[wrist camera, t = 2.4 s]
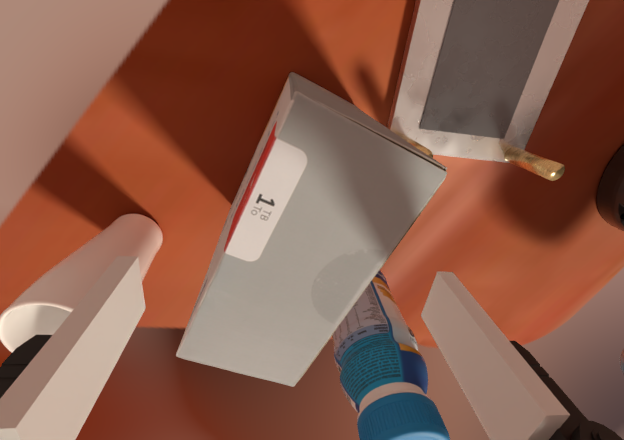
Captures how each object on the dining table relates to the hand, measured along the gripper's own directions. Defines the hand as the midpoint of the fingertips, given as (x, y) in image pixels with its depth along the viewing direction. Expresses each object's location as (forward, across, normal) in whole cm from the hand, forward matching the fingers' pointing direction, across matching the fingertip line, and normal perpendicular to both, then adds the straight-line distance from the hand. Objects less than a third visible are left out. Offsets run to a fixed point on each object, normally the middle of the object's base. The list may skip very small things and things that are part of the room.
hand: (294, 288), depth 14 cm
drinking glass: (+21, +16, +10) cm, 28 cm away
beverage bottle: (+21, -10, +16) cm, 28 cm away
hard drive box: (+21, 0, 0) cm, 21 cm away
